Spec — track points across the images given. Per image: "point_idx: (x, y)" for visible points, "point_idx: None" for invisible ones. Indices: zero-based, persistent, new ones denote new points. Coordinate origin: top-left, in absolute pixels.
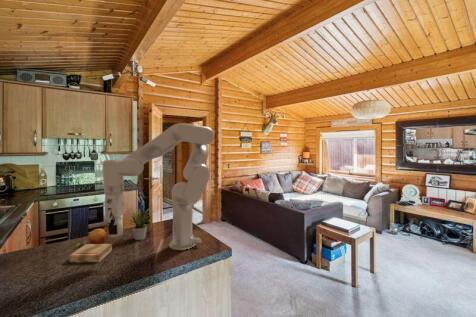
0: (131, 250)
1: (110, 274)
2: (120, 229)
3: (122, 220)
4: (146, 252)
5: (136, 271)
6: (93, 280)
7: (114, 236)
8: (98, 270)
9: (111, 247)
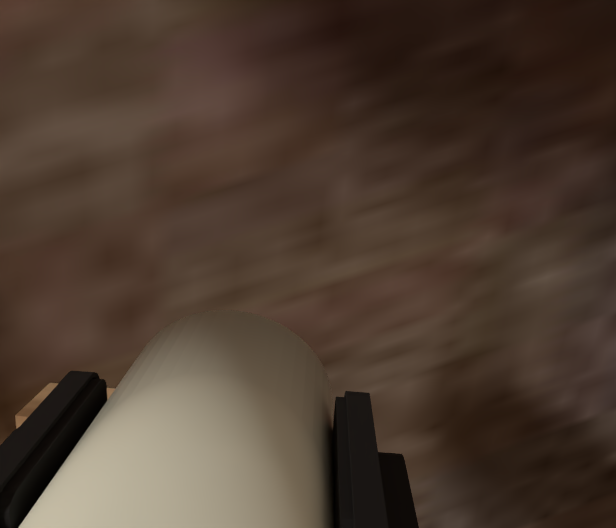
0: (43, 206)
1: (528, 241)
2: (271, 385)
3: (99, 490)
4: (84, 30)
5: (518, 18)
6: (601, 335)
7: (332, 407)
8: (436, 357)
9: (42, 398)
